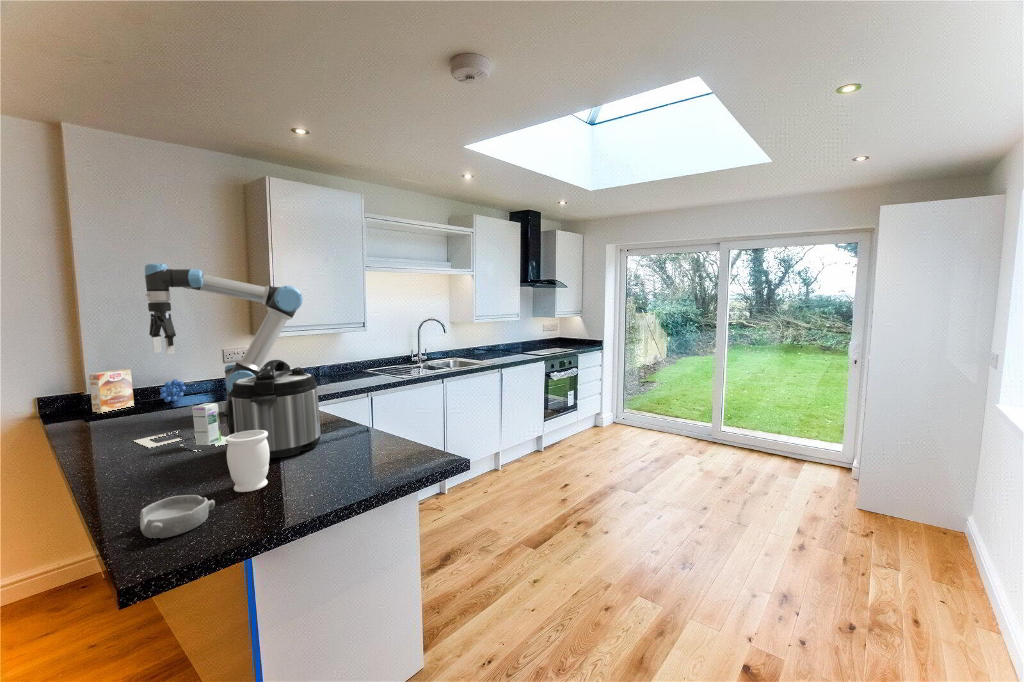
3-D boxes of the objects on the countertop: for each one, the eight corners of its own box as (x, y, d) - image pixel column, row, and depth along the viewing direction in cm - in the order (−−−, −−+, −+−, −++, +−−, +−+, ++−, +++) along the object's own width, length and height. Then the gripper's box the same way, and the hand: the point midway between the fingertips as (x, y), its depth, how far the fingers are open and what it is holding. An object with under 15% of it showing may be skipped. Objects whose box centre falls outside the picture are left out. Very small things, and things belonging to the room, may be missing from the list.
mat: (220, 436, 182) (220, 435, 182) (238, 441, 174) (238, 440, 174) (179, 446, 171) (179, 445, 171) (196, 452, 163) (196, 451, 163)
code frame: (181, 431, 191) (181, 430, 191) (198, 437, 182) (198, 435, 182) (133, 441, 178) (132, 440, 178) (149, 448, 169) (148, 447, 169)
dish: (160, 546, 100) (158, 524, 100) (124, 534, 106) (122, 513, 106) (226, 517, 113) (224, 497, 113) (190, 507, 119) (189, 488, 119)
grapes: (185, 398, 257) (183, 377, 256) (187, 400, 252) (185, 378, 251) (159, 402, 249) (157, 380, 248) (161, 404, 244) (159, 381, 243)
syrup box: (209, 445, 169) (205, 406, 168) (195, 445, 170) (191, 406, 169) (221, 441, 175) (218, 402, 173) (208, 440, 176) (204, 402, 174)
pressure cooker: (284, 433, 184) (278, 354, 181) (340, 440, 173) (335, 355, 170) (210, 459, 156) (202, 365, 153) (272, 468, 146) (265, 368, 143)
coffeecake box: (101, 413, 226) (97, 374, 224) (92, 413, 228) (87, 373, 226) (135, 406, 240) (131, 369, 238) (125, 406, 242) (122, 368, 240)
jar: (241, 480, 136) (237, 430, 135) (277, 478, 137) (274, 428, 136) (221, 495, 126) (217, 441, 124) (261, 493, 127) (257, 439, 125)
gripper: (136, 302, 196) (141, 352, 198) (160, 301, 182) (165, 355, 184) (158, 302, 202) (162, 350, 204) (182, 301, 188) (187, 353, 190)
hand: (164, 353), depth 194 cm, fingers open, 13 cm apart
